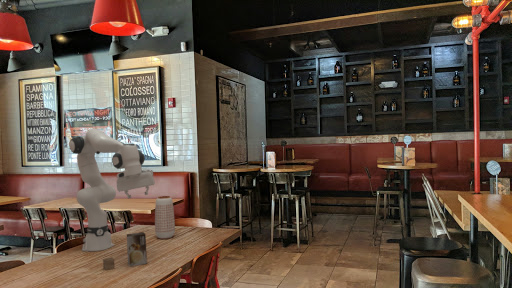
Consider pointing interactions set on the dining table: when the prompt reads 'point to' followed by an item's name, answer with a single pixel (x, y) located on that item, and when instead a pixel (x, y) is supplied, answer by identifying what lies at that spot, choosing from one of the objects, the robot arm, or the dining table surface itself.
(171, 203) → the grey textured vase
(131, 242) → the coffee box
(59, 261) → the dining table surface
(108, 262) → the walnut block
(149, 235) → the dining table surface
